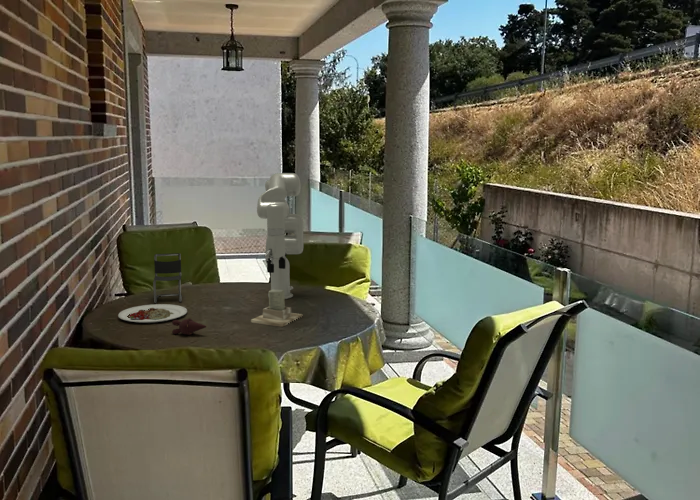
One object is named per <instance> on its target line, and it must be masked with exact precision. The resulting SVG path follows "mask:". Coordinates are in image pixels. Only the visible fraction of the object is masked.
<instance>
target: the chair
mask: <svg viewBox="0 0 700 500" xmlns="http://www.w3.org/2000/svg"><path fill="white" fill-rule="evenodd" d="M181 255H182V254H181V253H179V252H178V253H156V254H154V255H153V258H154V259H153V260H154V263H153V264H154V278H153V283H152V287H153V302H154V303H155V304H157V303H158V299H159V298H160V297H159V296H161V297H176V296H177V297H178V302H179V303H181V302H182V299H183V294H182V286H181V281H182V258H181V257H182V256H181ZM167 256H169V257H170V256H171V257H172V256H173V257H175V256H178V260H172V261H162V260H161V261H158V260H157V257H167ZM158 274H178V275H176V276H175V275H174V276H158ZM157 281H159V282H166V281H167V282H169V281H170V282H171V281H177V282H178V287H177V288H178V293H164V294H163V293H161V294H157V290H156V288H157V287H156V285H157V284H156V282H157Z"/></svg>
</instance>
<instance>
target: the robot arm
mask: <svg viewBox="0 0 700 500" xmlns="http://www.w3.org/2000/svg"><path fill="white" fill-rule="evenodd" d="M264 187H265V191H264V192H263V193H261V194H260V195H259V197H258V199H257V205H256V206H257V207H256V213H257V216H258V218H260V219H262V220H263V219H265V220H266V226H267V227H266V229H267V230H266V233H267V236H266V238H265V239H266V240H265V254H264V258H265V259H264V260H265V262H266V272H267V273H270V290H271V289H278V290H284V298H285V300H287V299H291V298H293V297H294V294H293V293H292V292H291V291H292V290H293V289H294V287H293V286H292V285H291V283H290V277H291V276H290V274H291V273H290V269H291V267H290V261H289V260H288V258H287V255H300V254H302V253H303V251H304V220H303V217H302V215H301V214H298V213H290V206H289V203H288V202H287V200H286V198H287V197H297V196H299V195H300V193H301V190H302V189H301V188H302V186H301V179H300V177H299V175H298V174H297V173H294V172H279V173H278V172H277V173H273V174H272V175H271V176H270V177H269V179H268V180H267V181H266V182H265V184H264ZM285 233H286V235H285ZM288 233H291V234H292V233H293V234H294V235H293V234H292V235H287V234H288ZM267 297H268V298H269V293H268V294H267Z"/></svg>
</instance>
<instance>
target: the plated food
mask: <svg viewBox="0 0 700 500" xmlns="http://www.w3.org/2000/svg"><path fill="white" fill-rule="evenodd" d="M148 309H149V310H148ZM144 310H145V311H144ZM187 313H188V309H187V308H186V307H185V306H181V305H177V304H169V303H168V304H166V303H164V304H163V303H161V304H160V303H158V304H157V303H155V304H144V305H138V306H133V307H129V308H126V309H123V310H121V311H120V312H119V313H118V315H117V316H118V318H119V319H120V320H123V321H126V322H134V323H140V324H141V323H143V324H151V323H163V322H168V321H171V320H172V321H173V320H176V319H177V318H181V317H183V316H184V315H187ZM129 314H130V316H129V317H130V318H128V317H127V316H128V315H129Z"/></svg>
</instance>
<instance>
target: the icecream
mask: <svg viewBox="0 0 700 500" xmlns="http://www.w3.org/2000/svg"><path fill="white" fill-rule="evenodd" d="M172 325H173V326H175V327H178V328H175V329H172V331H171V333H172V334H173V335H178V334H182V335H186V336H191V335H193V334H194V332H195V333H196V332H198V331H201V330H203V329H206V328H207V325H204V324H202V323H199V322H196V321H194V320H193V319H191V317H190V318H187V319H182V320H181V321H180V320H179V319H172Z"/></svg>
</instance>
